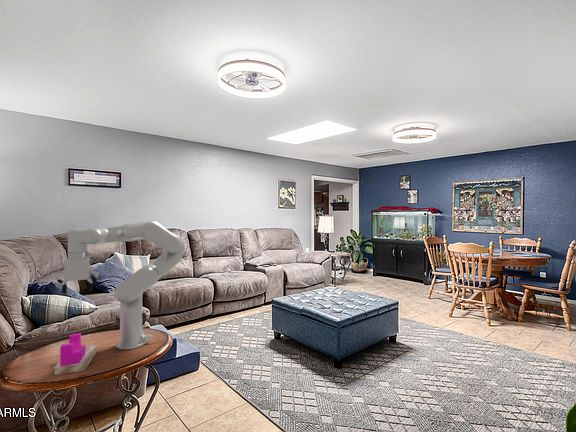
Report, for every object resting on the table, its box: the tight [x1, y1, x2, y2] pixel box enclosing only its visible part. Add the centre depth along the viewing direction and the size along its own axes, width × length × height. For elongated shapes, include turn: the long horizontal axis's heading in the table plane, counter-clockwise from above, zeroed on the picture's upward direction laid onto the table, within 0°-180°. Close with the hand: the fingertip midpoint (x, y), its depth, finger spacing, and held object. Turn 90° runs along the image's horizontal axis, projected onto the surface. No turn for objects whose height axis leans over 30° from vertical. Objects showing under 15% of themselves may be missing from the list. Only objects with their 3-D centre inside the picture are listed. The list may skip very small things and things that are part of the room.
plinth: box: [53, 345, 97, 376], centre depth 131 cm, size 10×19×3 cm, turn 20°
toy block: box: [59, 332, 86, 366], centre depth 129 cm, size 15×6×8 cm, turn 22°
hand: (77, 292), depth 145 cm, fingers open, 9 cm apart
